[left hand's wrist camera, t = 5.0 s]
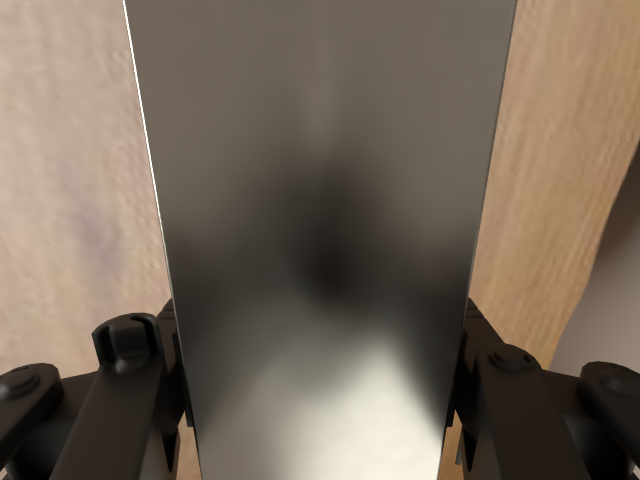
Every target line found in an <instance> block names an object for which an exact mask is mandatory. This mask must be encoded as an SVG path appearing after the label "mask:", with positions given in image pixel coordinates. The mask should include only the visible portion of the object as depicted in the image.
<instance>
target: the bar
mask: <svg viewBox="0 0 640 480" xmlns="http://www.w3.org/2000/svg"><path fill="white" fill-rule="evenodd" d="M122 1H123V7H124V13H125V19H126V25H127V31H128V37H129V43H130V49H131V55H132V61H133V67H134V73H135V79H136V85H137V91H138V97H139V103H140V109H141V115H142V121H143V127H144V133H145V139H146V145H147V151H148V157H149V164H150V170H151V176H152V182H153V188H154V194H155V200H156V206H157V212H158V218H159V224H160V230H161V236H162V242H163V248H164V254H165V260H166V266H167V272H168V278H169V284H170V290H171V296H172V302H173V308H174V314H175V320H176V326H177V332H178V338H179V344H180V350H181V356H182V362H183V368H184V374H185V380H186V386H187V392H188V398H189V404H190V410H191V416H192V423H193V429H194V435H195V441H196V447H197V453H198V459H199V465H200V471H201V477H202V480H438V476H439V470H440V464H441V458H442V452H443V446H444V440H445V434H446V428H447V422H448V416H449V410H450V404H451V398H452V392H453V386H454V380H455V374H456V367H457V361H458V355H459V349H460V343H461V337H462V331H463V325H464V319H465V313H466V307H467V301H468V295H469V289H470V283H471V277H472V271H473V265H474V259H475V253H476V247H477V241H478V235H479V229H480V223H481V217H482V211H483V205H484V199H485V193H486V187H487V181H488V175H489V169H490V163H491V157H492V151H493V145H494V139H495V133H496V127H497V121H498V115H499V109H500V103H501V97H502V91H503V85H504V79H505V72H506V66H507V60H508V54H509V48H510V42H511V36H512V30H513V24H514V18H515V12H516V6H517V0H122Z"/></svg>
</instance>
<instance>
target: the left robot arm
mask: <svg viewBox="0 0 640 480" xmlns="http://www.w3.org/2000/svg"><path fill="white" fill-rule="evenodd" d="M92 338H93V341H94V345H95V349H96V353H97V356H98V360H99V364H100V367H99V369H98V371H95V372H92V373H87V374H83V375H78V376H73V377H68V378H64V379H61V378H60V375H59V371H58V369H57V368H56V367H55V366H54V365H52V364H46V363H37V364H29V365H25V366H22V367H18V368H15V369H13V370H11V371H9V372H7V373H5V374H3V375H1V376H0V471H1V470H2V469H3V468H4V467H5V468H6V471H7V474H6V476H5V477H4V478H3V479H2V480H176V476H177V467H178V459H179V450H180V435H179V429H178V424H179V422H180V420H181V418H182V415H183V413H184V411H185V414H186V420H187V426H188V427H193V423H192V416H191V410H190V404H189V398H188V392H187V386H186V380H185V374H184V368H183V362H182V356H181V350H180V344H179V338H178V332H177V326H176V320H175V314H174V308H173V302H172V298H171V299H170V300H169V301H168V302H167V304H166V305H165V306H164V308H163V309H162V311H161V312H160V313H159V314H158V315H157V317H155V316H154V315H152V314H148V313H130V314H125V315H121V316H118V317H115V318H113V319H110V320H108V321H106V322H104V323H103V324H101V325H100V326H98V327H97V328H96V329H95V330H94V332H93V333H92ZM455 409H456V412H457V414H458V416H459V419H460V421H461V423H462V429H461V434H460V440H459V445H458V451H457V456H456V463H455V464H457V465H460V464H461V459H462V467H463V476H464V480H639V479H638V477H637V476H636V475H635V474H634V472H633V470H634V468H635V465H637V467H638V468H639V469H640V374H639V373H637V372H635V371H633V370H631V369H629V368H627V367H624V366H621V365H618V364H614V363H608V362H600V361H596V362H589V363H587V364H586V365H584V366H583V367H582V370H581V373H580V377H574V376H570V375H565V374H560V373H555V372H551V371H547V370H543V369H542V368H541V366H540V364H539V363H538V362H537V360H536V359H535V358H534V357H533V356H532V355H530V354H529V353H528V352H526V351H525V350H523V349H520V348H518V347H516V346H514V345H510V344H506V343H504V342H503V341H502V339H501V338H500V337H499V335H498V334H497V333H496V331H495V330H494V329H493V327H492V326H491V325H490V323H489V322H488V321H487V320H486V318H484V316H483V314H482V313H481V312H480V310H478V308H477V306H476V305H475V304H474V302H473V301H472V300H471V299H470V298H469V297H468V301H467V307H466V313H465V319H464V325H463V331H462V337H461V343H460V349H459V355H458V361H457V367H456V374H455V380H454V386H453V392H452V398H451V404H450V410H449V416H448V422H447V427H452V424H453V419H454V413H455Z"/></svg>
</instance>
